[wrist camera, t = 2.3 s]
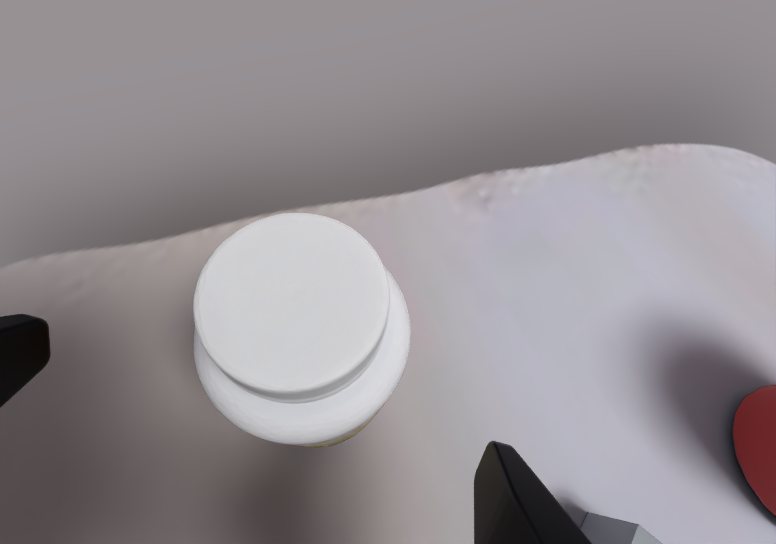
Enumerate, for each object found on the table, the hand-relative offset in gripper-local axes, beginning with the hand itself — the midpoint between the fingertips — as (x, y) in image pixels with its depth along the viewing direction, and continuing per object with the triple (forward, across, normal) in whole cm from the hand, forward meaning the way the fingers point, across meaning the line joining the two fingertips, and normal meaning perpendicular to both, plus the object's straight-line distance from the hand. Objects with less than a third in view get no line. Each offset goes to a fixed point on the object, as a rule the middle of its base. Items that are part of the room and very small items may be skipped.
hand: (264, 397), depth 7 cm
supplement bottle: (+8, 0, +5) cm, 10 cm away
